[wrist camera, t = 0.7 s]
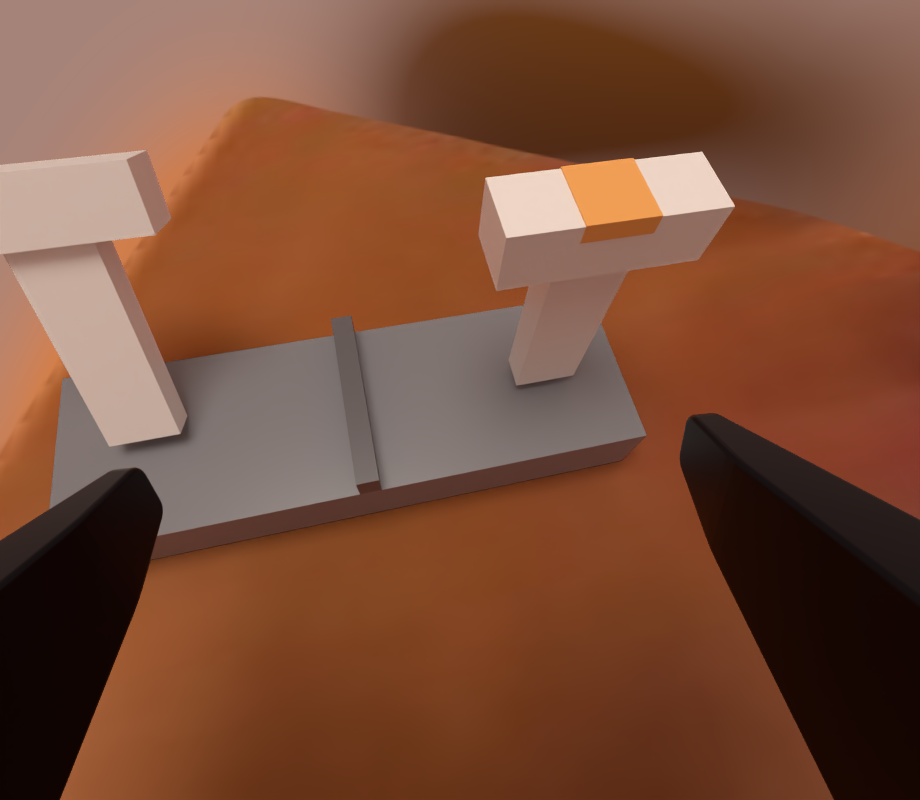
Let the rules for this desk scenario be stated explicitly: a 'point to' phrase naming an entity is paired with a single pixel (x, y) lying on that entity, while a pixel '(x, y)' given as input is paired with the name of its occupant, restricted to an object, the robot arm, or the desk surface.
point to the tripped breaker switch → (590, 244)
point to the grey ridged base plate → (354, 428)
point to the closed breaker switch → (92, 282)
